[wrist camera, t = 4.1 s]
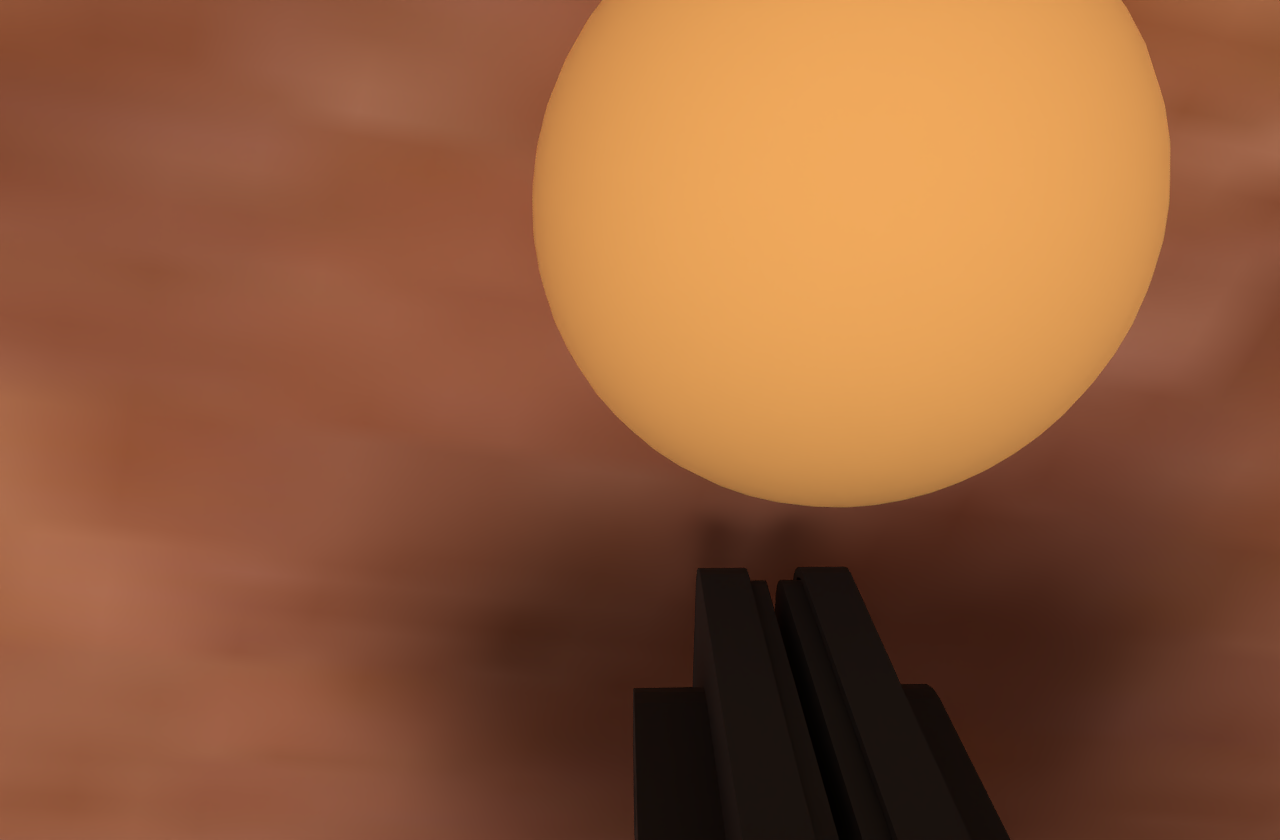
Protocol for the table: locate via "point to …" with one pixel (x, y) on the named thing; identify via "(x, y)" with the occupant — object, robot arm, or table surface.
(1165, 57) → the table surface
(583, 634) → the table surface
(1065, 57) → the ball
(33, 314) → the table surface
